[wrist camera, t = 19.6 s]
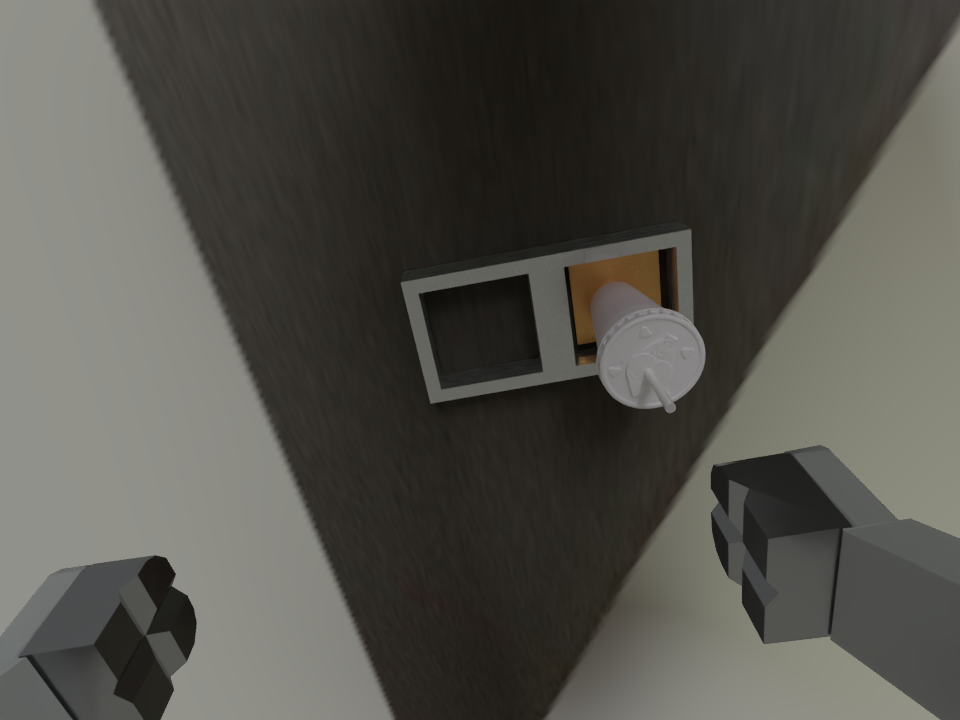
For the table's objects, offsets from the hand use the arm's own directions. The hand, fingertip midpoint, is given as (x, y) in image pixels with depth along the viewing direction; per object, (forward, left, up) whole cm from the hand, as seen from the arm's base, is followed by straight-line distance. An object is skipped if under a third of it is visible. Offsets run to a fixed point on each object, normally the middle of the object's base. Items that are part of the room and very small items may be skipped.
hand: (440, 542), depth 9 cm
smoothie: (+12, +10, -35) cm, 38 cm away
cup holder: (+11, +5, -35) cm, 37 cm away
